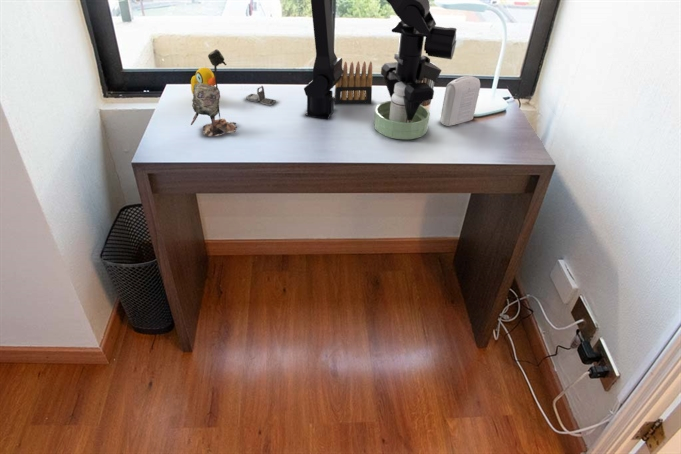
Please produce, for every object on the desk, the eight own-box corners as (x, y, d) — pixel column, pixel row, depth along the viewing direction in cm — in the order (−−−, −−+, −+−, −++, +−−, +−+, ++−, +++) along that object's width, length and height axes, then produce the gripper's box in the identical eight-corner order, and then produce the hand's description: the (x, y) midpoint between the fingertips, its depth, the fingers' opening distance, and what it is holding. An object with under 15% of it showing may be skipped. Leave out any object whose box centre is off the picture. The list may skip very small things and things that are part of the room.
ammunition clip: (370, 100, 148) (373, 60, 140) (371, 103, 146) (374, 62, 139) (333, 101, 146) (335, 60, 139) (334, 104, 145) (336, 62, 138)
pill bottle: (403, 119, 137) (408, 79, 130) (416, 129, 133) (422, 88, 126) (384, 123, 135) (388, 82, 128) (395, 133, 131) (400, 91, 124)
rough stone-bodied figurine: (196, 122, 132) (185, 45, 120) (240, 124, 132) (233, 47, 120) (189, 137, 126) (176, 57, 114) (234, 139, 126) (227, 59, 114)
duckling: (226, 106, 141) (223, 71, 135) (210, 111, 138) (205, 75, 132) (204, 93, 147) (199, 59, 141) (187, 98, 144) (182, 63, 138)
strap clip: (245, 99, 145) (244, 85, 142) (251, 96, 147) (250, 81, 144) (271, 106, 142) (270, 91, 140) (276, 102, 144) (276, 87, 142)
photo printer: (464, 114, 143) (473, 71, 136) (475, 120, 140) (484, 76, 133) (437, 121, 138) (444, 78, 131) (448, 128, 136) (456, 83, 128)
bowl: (369, 136, 130) (370, 118, 127) (379, 114, 141) (381, 97, 138) (423, 145, 128) (426, 127, 124) (429, 121, 138) (432, 104, 135)
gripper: (458, 63, 117) (447, 124, 127) (422, 38, 131) (414, 95, 141) (415, 67, 114) (406, 130, 124) (382, 41, 128) (377, 99, 137)
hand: (402, 112), depth 131 cm, fingers open, 9 cm apart
